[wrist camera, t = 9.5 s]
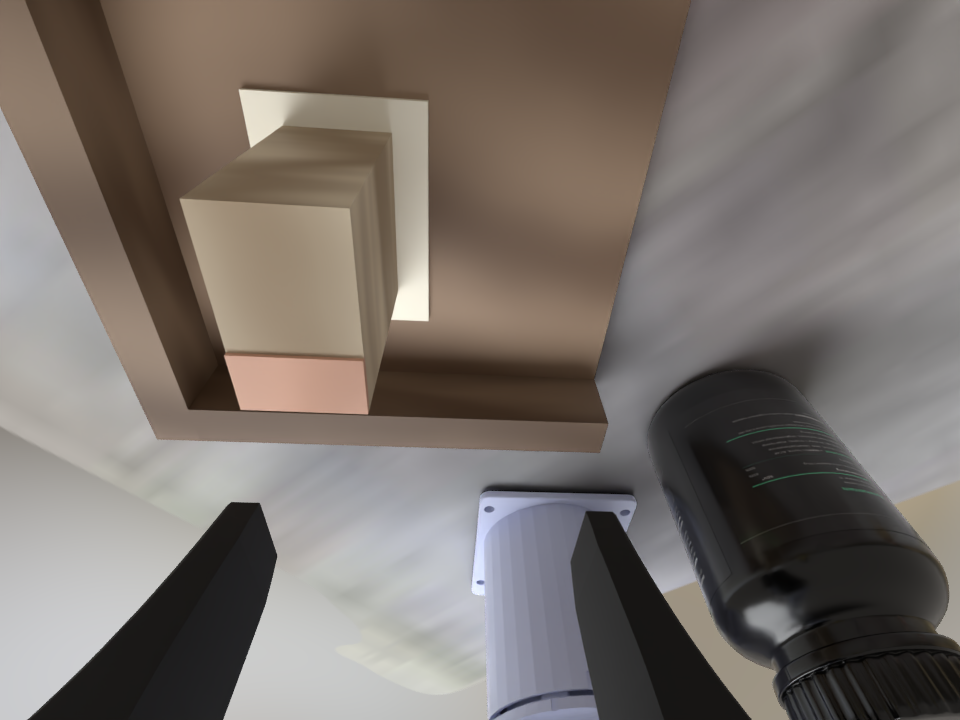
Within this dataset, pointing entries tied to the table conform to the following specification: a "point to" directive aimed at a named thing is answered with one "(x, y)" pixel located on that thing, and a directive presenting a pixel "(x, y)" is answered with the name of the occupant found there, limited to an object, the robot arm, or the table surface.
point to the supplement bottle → (804, 554)
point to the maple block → (301, 266)
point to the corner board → (417, 190)
